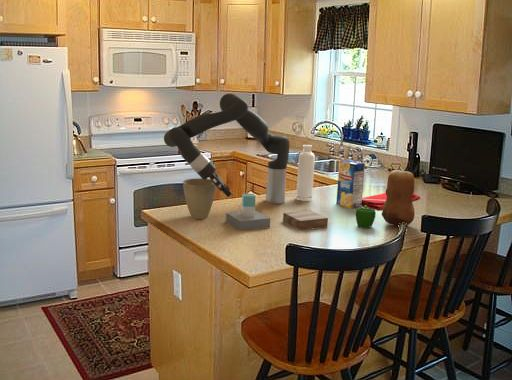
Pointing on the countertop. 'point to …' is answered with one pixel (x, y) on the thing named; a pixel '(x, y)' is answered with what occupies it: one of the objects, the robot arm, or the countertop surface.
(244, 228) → the grey stand
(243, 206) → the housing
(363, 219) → the bell pepper
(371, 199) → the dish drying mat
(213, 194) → the plant pot
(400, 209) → the butternut squash
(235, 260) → the countertop surface
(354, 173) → the beverage box
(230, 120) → the robot arm
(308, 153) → the bottle
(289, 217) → the walnut stand
